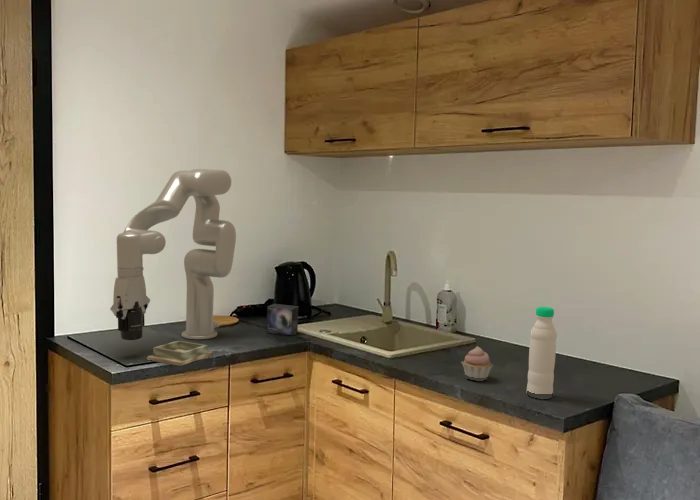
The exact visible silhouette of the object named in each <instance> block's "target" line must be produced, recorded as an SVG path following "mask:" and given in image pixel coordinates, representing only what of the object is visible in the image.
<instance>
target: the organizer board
mask: <svg viewBox="0 0 700 500" xmlns="http://www.w3.org/2000/svg"><path fill="white" fill-rule="evenodd" d="M213 354H214V352H213V351H210V350H209V345H208V344H203V343H195V342H190V341H184V340H175V341H171V342H169V343H164V344H160V345H158V346H154V347H152V355H148V356H146V359H147V361H151V360H152V362H156V363H157V362H158V363H162V364H169V365H174V366H177V367H181V366H185V365H188V364H190V363H193V362H196V361H199V360H202V359H206V358H208V357H212V356H213Z"/></svg>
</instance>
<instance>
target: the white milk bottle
mask: <svg viewBox="0 0 700 500" xmlns="http://www.w3.org/2000/svg"><path fill="white" fill-rule="evenodd" d="M535 315H536V321H535V323H534V324H533V327H532V328H531V329H530V341H529V352H528V371H527V385H526V392H527V391H529V392H531V393H535V394H552V393H553V394H554V379H555V373H554V371H555V364H556V353H557V352H556V351H557V345H556V344H557V337H558V334H557V331H556V328H555V326H554V323H553V319H554V316H555V309H554V308H553V307H550V306H549V307H548V306H538V307H537V308H536V309H535Z"/></svg>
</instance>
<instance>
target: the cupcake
mask: <svg viewBox="0 0 700 500" xmlns="http://www.w3.org/2000/svg"><path fill="white" fill-rule="evenodd" d="M460 363H461V365H462V367H463V370H464V371H463V372H464V376H465V375H467V376H469V377H474V378H486V377H488V378H489V375H490V371H491V369H492V368H493V366H494V364H492V362H490V356H489V354H488V353H487V352H485V351H484V350H483V349H482V348H481V347H479V346H478V345H477V346H476V347H475V348H473V349H471V350H470V351H468V353H467V354H466V355H465V357H464V360H463V361H461V362H460Z"/></svg>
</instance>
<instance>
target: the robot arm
mask: <svg viewBox="0 0 700 500" xmlns="http://www.w3.org/2000/svg"><path fill="white" fill-rule="evenodd" d="M231 187H232V177H231V175H230V173H228V171H226V170H225V169H209V168H208V169H205V168H203V169H202V168H198V169H197V168H196V169H191V170H178V171H175V172H174V173H172V175H171V176H170V178H169V179H168V180H167V182H166V184H165V185H164V187H163V189H162V190H161V191H160V194H159V195H158V197H157V199H156V200H155V201H154V202H152V203H151V204H149V205H148V206H146V207H145V208H143V209H142V210H140V211H139V212H138V213H137V214H135V215H133V217H132V218H131V219H130V220H129V222H128V224H127V225H126V227H125V228H124V231H123V232H121V233H119V234H117V236H116V263H117V264H116V267H117V269H116V270H117V277H116V278H115V279H114V280H115V281H114V286H113V301H112V302H113V303H112V305H111V307H110V311H111V312H112V314H113V315H114V316H115V317H116V319H117V330H118V331H119V332H120V331H124V332H126V331H127V319H125V317H126V314H127V311H128V310H130V309H133V306H134V305H135V302H137V301H138V302H139V308H140V309H141V310H142V311H143V327H145V314H146V312H147V311H146V310H147V309H148V307H149V304H150V302H151V299H150V297H148V295H147V288H146V280H145V277H144V267H143V264H144V263H143V255H156V254H159V253H161V252H162V251H163V250H164V248H166V238H165V236H164V235H163V233H161V232H159V231H156V230H150V229H151V228H152V227H154V226H156V225H158V224H161V223H164V222H167V221H170V220H173V219H175V218H177V216H179V214H180V213H181V211H182V210H183V207H184V206H185V204H186V203H187V201H188V199H189V198H190V197H193V198H194V202H195V213H194V214H195V215H194V219H193V226H192V240H193V242H194V243H195V244H196V245H199V246H206V247H215V249H207V248H194V249H193V248H192V249H191V250H189V251H188V252H187V253H186V254H185V255H184V260H183V267H184V271H185V281H186V310H185V311H186V314H185V317H186V318H185V323H186V324H185V330H184V331H182V332H181V337H182V338H185V339H188V340H189V339H190V340H209V339H213V338H217V336H218V332H217V331H216V330H215V328H219V327H220V326H221V323H220V321H214V295H215V294H214V291H215V290H214V284H213V282H212V279H211V278H220V279H221V278H222V279H223V278H226V277H227V276H228V275H230V273H231V270H232V269H233V262H234V257H235V247H236V243H237V232H236V227H235V226H234V224H233V223H232V222H230V221H229V220H222V219H220V211H221V207H220V202H219V200H218V197H217V196H219V195H224V194H226V193H228V192H229V190H230V189H231ZM122 311H123V314H122V313H121V312H122Z"/></svg>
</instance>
